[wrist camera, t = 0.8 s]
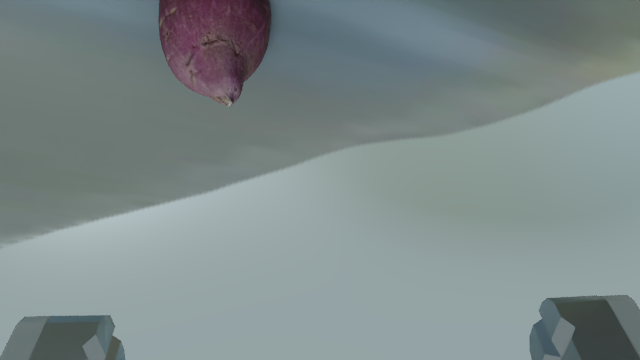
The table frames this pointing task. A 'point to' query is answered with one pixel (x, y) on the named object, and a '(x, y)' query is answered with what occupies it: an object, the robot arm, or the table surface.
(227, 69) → the vegetable
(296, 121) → the table surface
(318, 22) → the table surface
